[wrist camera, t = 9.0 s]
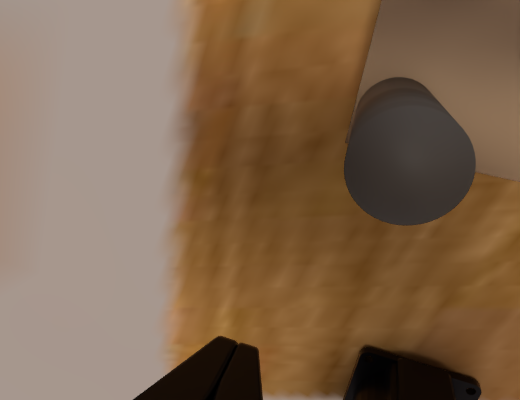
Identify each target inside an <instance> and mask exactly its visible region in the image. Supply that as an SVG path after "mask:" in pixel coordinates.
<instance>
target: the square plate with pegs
mask: <svg viewBox="0 0 520 400" xmlns="http://www.w3.org/2000/svg"><path fill="white" fill-rule="evenodd" d="M345 143H349V144H348V148H347V153H346V157H345V162H344V175H345V181H346V185H347V188H348V190H349V192H350V194H351V196H352V198H353V199H354V201H355V202H356V203H357V204H358V205H359V206H360V207H361V208H362V209H363V210H364V211H365V212H366V213H368V214H369V215H371V216H373V217H374V218H376V219H379V220H381V221H384V222H387V223H390V224H396V225H417V224H423V223H427V222H430V221H433V220H435V219H438V218H440V217H442V216H443V215H445V214H447V213H448V212H450V211H451V210H452V209H453V208H455V207H456V206H457V205H458V204H459V203H460V202H461V200H462V199H463V198H464V197H465V195H466V194H467V192H468V190H469V188H470V186H471V184H472V182H473V179H474V175H475V172H478V173H482V174H487V175H491V176H495V177H500V178H504V179H509V180H513V181H518V182H520V0H382V2H381V6H380V9H379V13H378V17H377V21H376V25H375V29H374V33H373V37H372V40H371V44H370V48H369V52H368V56H367V60H366V64H365V68H364V71H363V75H362V79H361V83H360V87H359V91H358V95H357V99H356V103H355V106H354V110H353V114H352V118H351V122H350V126H349V130H348V134H347V137H346V141H345Z"/></svg>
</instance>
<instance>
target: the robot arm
mask: <svg viewBox="0 0 520 400" xmlns="http://www.w3.org/2000/svg"><path fill="white" fill-rule="evenodd" d="M366 356H371V358H368V357H366ZM467 388H473V389H467ZM480 395H481V388H480V385H479V383H478V382H477V381H476V380H474V379H471V378H468V377H465V376H461V375H458V374H455V373H452V372H448V371H445V370H442V369H439V368H435V367H432V366H429V365H426V364H422V363H419V362H416V361H413V360H409V359H406V358H403V357H400V356H396V355H393V354H390V353H387V352H383V351H380V350H377V349H374V348H370V347H366V348H363V349H361V351H360V353H359V356H358V359H357V362H356V364H355V367H354V370H353V373H352V376H351V379H350V381H349V384H348V387H347V390H346V393H345V395H344V398H343V400H478V398H479V397H480ZM133 400H263V396H262V384H261V372H260V360H259V350H258V348H257V347H254V346H251V345H248V344H245V343H239V344H238V343H237V342H236V341H235V340H232V339H229V338H226V337H223V336H218V337H216V338H215V339H213V340H212V341H211V342H209V343H208V344H207V345H205V346H204V347H203V348H201V349H200V350H199V351H197V352H196V353H195V354H193V355H192V356H191V357H189V358H188V359H187V360H185V361H184V362H183V363H181V364H180V365H179V366H177V367H176V368H175V369H173V370H172V371H171V372H169V373H168V374H167V375H165V376H164V377H163V378H161V379H160V380H159V381H157V382H156V383H155V384H154V385H152V386H151V387H149V388H148V389H147V390H145V391H144V392H143V393H141V394H140V395H139V396H137V397H136V398H135V399H133Z"/></svg>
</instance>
